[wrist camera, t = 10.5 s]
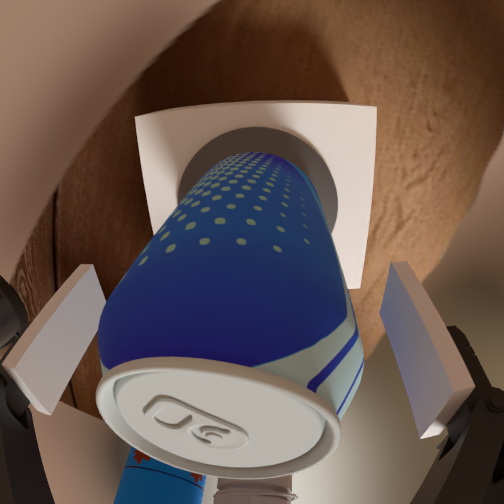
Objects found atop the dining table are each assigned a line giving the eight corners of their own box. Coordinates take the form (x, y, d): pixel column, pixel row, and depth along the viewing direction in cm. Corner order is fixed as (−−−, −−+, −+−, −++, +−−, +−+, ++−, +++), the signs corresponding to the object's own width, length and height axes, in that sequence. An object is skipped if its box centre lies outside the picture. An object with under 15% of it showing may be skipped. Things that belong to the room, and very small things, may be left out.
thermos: (197, 361, 42) (155, 528, 20) (232, 401, 46) (211, 544, 25) (142, 372, 45) (92, 510, 23) (179, 408, 49) (148, 533, 28)
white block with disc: (188, 243, 32) (163, 291, 25) (171, 108, 26) (131, 117, 18) (343, 242, 31) (360, 292, 23) (349, 101, 24) (378, 107, 17)
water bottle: (224, 343, 39) (188, 531, 18) (278, 324, 37) (268, 536, 15) (260, 381, 43) (245, 544, 21) (309, 365, 40) (313, 542, 19)
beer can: (304, 135, 18) (386, 294, 4) (327, 251, 22) (370, 475, 8) (179, 166, 20) (11, 337, 6) (217, 272, 24) (155, 478, 10)
